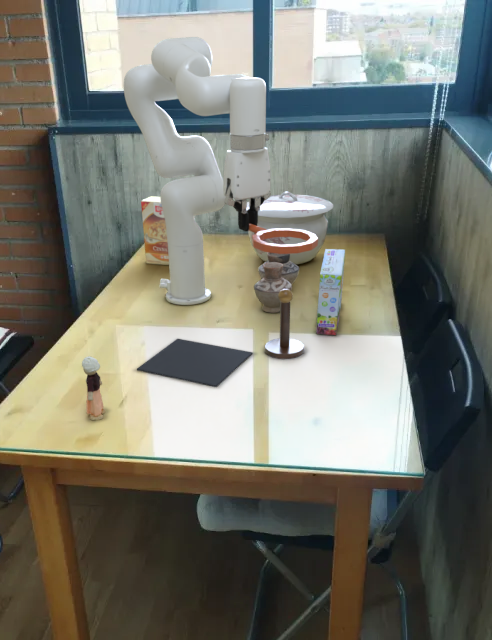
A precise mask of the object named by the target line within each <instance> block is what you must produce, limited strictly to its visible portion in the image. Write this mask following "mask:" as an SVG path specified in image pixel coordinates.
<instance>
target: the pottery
mask: <svg viewBox="0 0 492 640" xmlns="http://www.w3.org/2000/svg"><path fill="white" fill-rule="evenodd" d="M267 256H268V261H267V262H265V261H264V263H262V264H261V265H259V267H258V268H257V271H258V276H259V278H260V279H259V280H258V281H257V282H256V283H255V284H254V285H253V290H254V294H255V296H256V298H257V300H258V301H259V303H260V304H262V307H261V308H262V311H264V312H266V313H269V314H270V313H271V314H275V313H280V300H279V298H278V294H279V292H280V291H281V290H282V289H289V290H290V291H291V292H292V289H293V284H294V283H295V281H296V280H297V278H298V276H299V273H300V267H299V266H298V265H296V264H294V263H292V262H290V261H289V259H290V254H277V253H270V252H268V253H267Z"/></svg>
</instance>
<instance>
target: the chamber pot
mask: <svg viewBox="0 0 492 640" xmlns="http://www.w3.org/2000/svg"><path fill="white" fill-rule="evenodd" d="M334 205H335V204H333V203H332V202H331V201H330V200H328V199H326V198H323V197H319V196H315V195H310V194H300V193H299V194H298V193H297V194H296V193H295V194H294V193H292V192H290V191H283V192H282V193H280V194H273V195H272V194H271V197H270V198H268V199H267V200H265V201H264V202H263V204H262V205H261V206H260V210H259V211H258V224H257V226H259V227H261V228H264V229H267V230H269V229H281V228H290V229H299V230H305V231H308V232H311V233H314V234H316V236H317V238H318V246H316V247H315V248H314V249H313V250H310V251H306V252H301V253H292V254H290V259H289V261H290V262H292V263H294V264H296V265H297V266H298V265H302V264H304V263H307V262H310V261H312V260H314V258H316V256H317V255H318V254H319V252H320V250H321V249H322V247H323V246H324V244H325V241H326V237H327V233H328V226H329V221H328V218H327V217H326V213H328V212H330V211H332V210H333V208H334ZM247 209H249V201H247ZM254 234H256V233H253V232H251V231H247V235H248V238H249V243H250V246H251V247H252V249H253V250H254V253H255V254H256V255H257V257H258V258H259V259H260V260H262V261H263V262H264V263H265V262H267V261H268V256H267V253H268V252H264V251H261V250H259V249H256V248H254V247H253V244H252V235H254ZM263 241H265V242H267V243H273V244H281V245H284V244H298V243H303V242H306V240H303V239H300V238H293V237H273V238H268V239H264V240H263Z"/></svg>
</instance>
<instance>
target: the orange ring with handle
mask: <svg viewBox="0 0 492 640" xmlns="http://www.w3.org/2000/svg"><path fill="white" fill-rule="evenodd" d="M249 231H251V232H253V233H256V234H254V235H252V244H253V247H254V248H256V249H259V250H261V251H264V252H270V253H277V254H292V253H301V252H306V251H310V250H313V249H314V248H315V247H316V246H318V238H317V236H316V234H314V233H311V232H308V231H305V230H299V229H290V228H281V229H269V230H267V229H264V228H261V227H259V226H256V225H253V224H250V223H249ZM273 237H293V238H300V239H303V240H306V242H303V243H298V244H284V245H281V244H273V243H267V242H265V241H263V240H264V239H268V238H273ZM253 247H252V248H253Z"/></svg>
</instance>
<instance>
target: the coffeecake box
mask: <svg viewBox="0 0 492 640" xmlns="http://www.w3.org/2000/svg"><path fill="white" fill-rule="evenodd" d="M140 206H141V207H140V208H141V218H142V229H143V230H142V231H143V242H144V252H145V254H144V255H145V263H146V264H151V265H164V266H169V255H168V243H167V231H166V222H165V217H164V213H163V209H162V205H161V199H160V196H154V195H150V196H148V197H146V198H144V199H141V200H140ZM195 217H196V216H194V220H195V221H196V218H195Z"/></svg>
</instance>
